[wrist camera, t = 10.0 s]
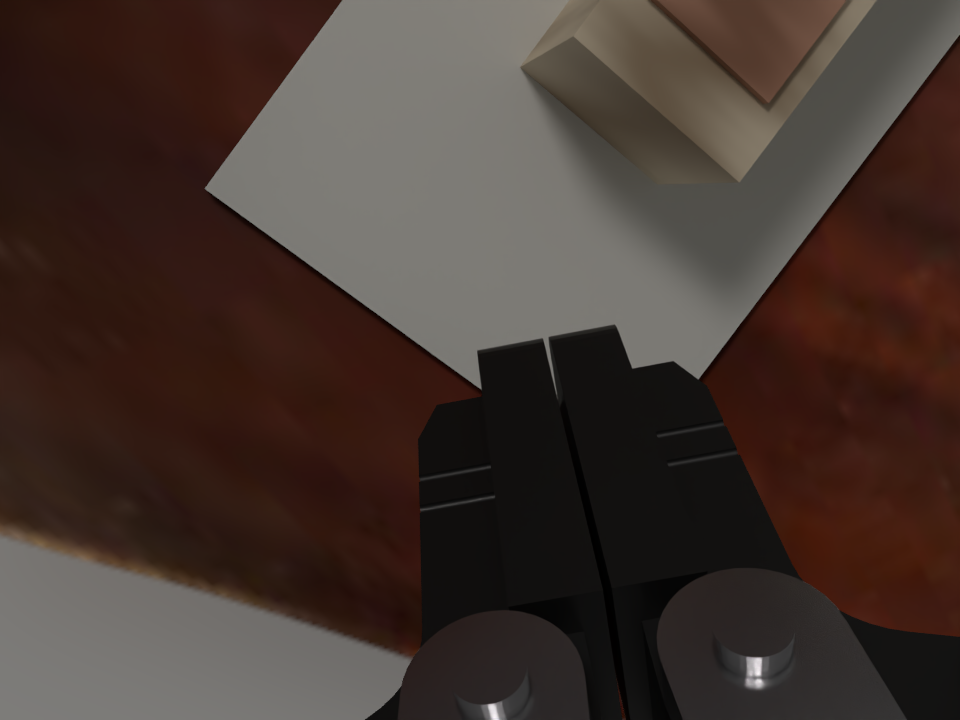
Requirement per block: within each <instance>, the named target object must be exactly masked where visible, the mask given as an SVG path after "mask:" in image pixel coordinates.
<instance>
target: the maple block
mask: <svg viewBox="0 0 960 720" xmlns="http://www.w3.org/2000/svg"><path fill="white" fill-rule="evenodd" d="M876 1H877V0H569V2H568V3H567V4H566V6H565V7H564V8H563V10H562V11H561V12H560V14H559V15H558V16H557V18H556V19H555V20H554V22H553V23H552V24H551V26H550V27H549V29H548V30H547V31H546V33H545V34H544V35H543V37H542V38H541V39H540V41H539V42H538V43H537V45H536V46H535V47H534V49H533V50H532V51H531V53H530V54H529V56H528V57H527V58H526V60H525V61H524V62H523V64H522V65H521V66H520V68H521V69H522V70H524V71H525V72H526V73H527V74H528V75H529V76H531V77H532V78H533V79H534V80H535V81H536V82H538V83H539V84H540V85H541V86H542V87H543V88H545V89H546V90H547V91H548V92H549V93H551V94H552V95H553V96H554V97H555V98H556V99H558V100H559V101H560V102H561V103H562V104H563V105H565V106H566V107H567V108H568V109H569V110H570V111H572V112H573V113H574V114H575V115H576V116H578V117H579V118H580V119H581V120H582V121H583V122H585V123H586V124H587V125H588V126H589V127H590V128H592V129H593V130H594V131H595V132H596V133H597V134H599V135H600V136H601V137H602V138H603V139H605V140H606V141H607V142H608V143H609V144H610V145H612V146H613V147H614V148H615V149H616V150H617V151H619V152H620V153H621V154H622V155H623V156H624V157H626V158H627V159H628V160H629V161H630V162H632V163H633V164H634V165H635V166H636V167H637V168H639V169H640V170H641V171H642V172H643V173H644V174H646V175H647V176H648V177H649V178H650V179H651V180H653V181H654V182H655V183H656V184H698V183H739V182H740V181H741V180H742V178H743V177H744V176H745V174H746V173H747V172H748V171H749V169H750V168H751V167H752V165H753V164H754V163H755V161H756V160H757V159H758V157H759V156H760V155H761V153H762V152H763V151H764V149H765V148H766V147H767V145H768V144H769V143H770V141H771V140H772V139H773V137H774V136H775V135H776V133H777V132H778V131H779V129H780V128H781V127H782V125H783V124H784V123H785V121H786V120H787V119H788V117H789V116H790V115H791V113H792V112H793V111H794V109H795V108H796V107H797V105H798V104H799V103H800V101H801V100H802V99H803V98H804V96H805V95H806V94H807V92H808V91H809V90H810V88H811V87H812V86H813V84H814V83H815V82H816V80H817V79H818V78H819V76H820V75H821V74H822V72H823V71H824V70H825V68H826V67H827V66H828V64H829V63H830V62H831V60H832V59H833V58H834V56H835V55H836V54H837V52H838V51H839V50H840V48H841V47H842V46H843V44H844V43H845V42H846V40H847V39H848V38H849V36H850V35H851V34H852V32H853V31H854V30H855V29H856V27H857V26H858V25H859V23H860V22H861V21H862V19H863V18H864V17H865V15H866V14H867V13H868V11H869V10H870V9H871V7H872V6H873V5H874V3H875V2H876Z"/></svg>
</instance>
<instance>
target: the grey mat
mask: <svg viewBox="0 0 960 720" xmlns="http://www.w3.org/2000/svg"><path fill="white" fill-rule="evenodd" d="M568 2H569V0H343V1H342V2H341V3H340V5H339V6H338V7H337V9H336V10H335V11H334V13H333V14H332V16H331V17H330V18H329V20H328V21H327V22H326V24H325V25H324V26H323V28H322V29H321V31H320V32H319V33H318V35H317V36H316V37H315V39H314V40H313V41H312V43H311V44H310V46H309V47H308V48H307V50H306V51H305V52H304V54H303V55H302V57H301V58H300V59H299V61H298V62H297V63H296V65H295V66H294V67H293V69H292V70H291V72H290V73H289V74H288V76H287V77H286V78H285V80H284V81H283V82H282V84H281V85H280V87H279V88H278V89H277V91H276V92H275V93H274V95H273V96H272V97H271V99H270V100H269V102H268V103H267V104H266V106H265V107H264V108H263V110H262V111H261V112H260V114H259V115H258V117H257V118H256V119H255V121H254V122H253V123H252V125H251V126H250V128H249V129H248V130H247V132H246V133H245V134H244V136H243V137H242V138H241V140H240V141H239V143H238V144H237V145H236V147H235V148H234V149H233V151H232V152H231V153H230V155H229V156H228V158H227V159H226V160H225V162H224V163H223V164H222V166H221V167H220V168H219V170H218V171H217V173H216V174H215V175H214V177H213V178H212V179H211V181H210V182H209V184H208V185H207V186H206V188H205V189H206V190H207V191H208V192H210V193H211V194H212V195H214V196H215V197H217V198H218V199H219V200H221V201H222V202H224V203H225V204H226V205H228V206H229V207H230V208H232V209H233V210H235V211H236V212H237V213H239V214H240V215H241V216H243V217H244V218H246V219H247V220H248V221H250V222H251V223H252V224H254V225H255V226H257V227H258V228H259V229H261V230H262V231H263V232H265V233H266V234H268V235H269V236H270V237H272V238H273V239H274V240H276V241H277V242H279V243H280V244H281V245H283V246H284V247H285V248H287V249H288V250H290V251H291V252H292V253H294V254H295V255H297V256H298V257H299V258H301V259H302V260H303V261H305V262H306V263H308V264H309V265H310V266H312V267H313V268H314V269H316V270H317V271H319V272H320V273H321V274H323V275H324V276H325V277H327V278H328V279H330V280H331V281H332V282H334V283H335V284H336V285H338V286H339V287H341V288H342V289H343V290H345V291H346V292H347V293H349V294H350V295H352V296H353V297H354V298H356V299H357V300H358V301H360V302H361V303H363V304H364V305H365V306H367V307H368V308H369V309H371V310H372V311H374V312H375V313H376V314H378V315H379V316H381V317H382V318H383V319H385V320H386V321H387V322H389V323H390V324H392V325H393V326H394V327H396V328H397V329H398V330H400V331H401V332H403V333H404V334H405V335H407V336H408V337H409V338H411V339H412V340H414V341H415V342H416V343H418V344H419V345H420V346H422V347H423V348H425V349H426V350H427V351H429V352H430V353H431V354H433V355H434V356H436V357H437V358H438V359H440V360H441V361H442V362H444V363H445V364H447V365H448V366H449V367H451V368H452V369H454V370H455V371H456V372H458V373H459V374H460V375H462V376H463V377H465V378H466V379H467V380H469V381H470V382H471V383H473V384H474V385H476V386H477V387H478V388H480V389H481V381H480V373H479V364H478V356H477V350H482V349H487V348H492V347H498V346H503V345H508V344H514V343H519V342H524V341H530V340H535V339H540V338H543V340H544V344H545V348H546V352H547V357H548V361H549V365H550V369H551V373H552V378H553V382H554V386H555V379H554V373H553V367H552V361H551V354H550V348H549V339H548V337H550V336H555V335H560V334H566V333H571V332H576V331H582V330H587V329H592V328H598V327H603V326H608V325H614V324H615V325H616V327H617V329H618V331H619V334H620V337H621V339H622V342H623V345H624V347H625V350H626V353H627V356H628V358H629V361H630V364H631V366H632V369H633V368H638V367H643V366H649V365H654V364H660V363H665V362H670V361H674V362H676V363H677V364H678V365H680V366H681V367H682V368H684V369H685V370H686V371H688V372H689V373H690V374H692V375H693V376H694V377H696V378H697V379H699V378H700V377H701V375H702V374H703V373H704V371H705V370H706V369H707V367H708V366H709V365H710V363H711V362H712V361H713V359H714V358H715V357H716V355H717V354H718V353H719V351H720V350H721V349H722V348H723V346H724V345H725V344H726V342H727V341H728V340H729V338H730V337H731V336H732V334H733V333H734V332H735V330H736V329H737V328H738V326H739V325H740V324H741V322H742V321H743V320H744V319H745V317H746V316H747V315H748V313H749V312H750V311H751V309H752V308H753V307H754V305H755V304H756V303H757V301H758V300H759V299H760V297H761V296H762V295H763V293H764V292H765V291H766V289H767V288H768V287H769V286H770V284H771V283H772V282H773V280H774V279H775V278H776V276H777V275H778V274H779V272H780V271H781V270H782V268H783V267H784V266H785V264H786V263H787V262H788V260H789V259H790V258H791V256H792V255H793V254H794V253H795V251H796V250H797V249H798V247H799V246H800V245H801V243H802V242H803V241H804V239H805V238H806V237H807V235H808V234H809V233H810V231H811V230H812V229H813V227H814V226H815V225H816V224H817V222H818V221H819V220H820V218H821V217H822V216H823V214H824V213H825V212H826V210H827V209H828V208H829V206H830V205H831V204H832V202H833V201H834V200H835V198H836V197H837V196H838V194H839V193H840V192H841V191H842V189H843V188H844V187H845V185H846V184H847V183H848V181H849V180H850V179H851V177H852V176H853V175H854V173H855V172H856V171H857V169H858V168H859V167H860V165H861V164H862V163H863V161H864V160H865V159H866V158H867V156H868V155H869V154H870V152H871V151H872V150H873V148H874V147H875V146H876V144H877V143H878V142H879V140H880V139H881V138H882V136H883V135H884V134H885V132H886V131H887V130H888V128H889V127H890V126H891V125H892V123H893V122H894V121H895V119H896V118H897V117H898V115H899V114H900V113H901V111H902V110H903V109H904V107H905V106H906V105H907V103H908V102H909V101H910V99H911V98H912V97H913V96H914V94H915V93H916V92H917V90H918V89H919V88H920V86H921V85H922V84H923V82H924V81H925V80H926V78H927V77H928V76H929V74H930V73H931V72H932V70H933V69H934V68H935V66H936V65H937V64H938V63H939V61H940V60H941V59H942V57H943V56H944V55H945V53H946V52H947V51H948V49H949V48H950V47H951V45H952V44H953V43H954V41H955V40H956V39H957V37H958V36H959V35H960V0H877V1H876V2H875V3H874V5H873V6H872V7H871V9H870V10H869V11H868V13H867V14H866V15H865V17H864V18H863V19H862V21H861V22H860V23H859V25H858V26H857V27H856V29H855V30H854V31H853V32H852V34H851V35H850V36H849V38H848V39H847V40H846V42H845V43H844V44H843V46H842V47H841V48H840V50H839V51H838V52H837V54H836V55H835V56H834V58H833V59H832V60H831V62H830V63H829V64H828V66H827V67H826V68H825V70H824V71H823V72H822V74H821V75H820V76H819V78H818V79H817V80H816V82H815V83H814V84H813V86H812V87H811V88H810V90H809V91H808V92H807V94H806V95H805V96H804V98H803V99H802V100H801V101H800V103H799V104H798V105H797V107H796V108H795V109H794V111H793V112H792V113H791V115H790V116H789V117H788V119H787V120H786V121H785V123H784V124H783V125H782V127H781V128H780V129H779V131H778V132H777V133H776V135H775V136H774V137H773V139H772V140H771V141H770V143H769V144H768V145H767V147H766V148H765V149H764V151H763V152H762V153H761V155H760V156H759V157H758V159H757V160H756V161H755V163H754V164H753V165H752V167H751V168H750V169H749V171H748V172H747V173H746V174H745V176H744V177H743V178H742V180H741V181H740V182H739V183H698V184H656V183H655V182H654V181H653V180H651V179H650V178H649V177H648V176H647V175H646V174H644V173H643V172H642V171H641V170H640V169H639V168H637V167H636V166H635V165H634V164H633V163H632V162H630V161H629V160H628V159H627V158H626V157H624V156H623V155H622V154H621V153H620V152H619V151H617V150H616V149H615V148H614V147H613V146H612V145H610V144H609V143H608V142H607V141H606V140H605V139H603V138H602V137H601V136H600V135H599V134H597V133H596V132H595V131H594V130H593V129H592V128H590V127H589V126H588V125H587V124H586V123H585V122H583V121H582V120H581V119H580V118H579V117H578V116H576V115H575V114H574V113H573V112H572V111H570V110H569V109H568V108H567V107H566V106H565V105H563V104H562V103H561V102H560V101H559V100H558V99H556V98H555V97H554V96H553V95H552V94H551V93H549V92H548V91H547V90H546V89H545V88H543V87H542V86H541V85H540V84H539V83H538V82H536V81H535V80H534V79H533V78H532V77H531V76H529V75H528V74H527V73H526V72H525V71H524V70H522V69H521V68H520V66H521V65H522V64H523V62H524V61H525V60H526V58H527V57H528V56H529V54H530V53H531V51H532V50H533V49H534V47H535V46H536V45H537V43H538V42H539V41H540V39H541V38H542V37H543V35H544V34H545V33H546V31H547V30H548V29H549V27H550V26H551V24H552V23H553V22H554V20H555V19H556V18H557V16H558V15H559V14H560V12H561V11H562V10H563V8H564V7H565V6H566V4H567V3H568ZM481 390H482V389H481ZM555 390H556V386H555ZM556 394H557V392H556ZM557 399H558V398H557Z"/></svg>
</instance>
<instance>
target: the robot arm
mask: <svg viewBox="0 0 960 720" xmlns="http://www.w3.org/2000/svg"><path fill="white" fill-rule="evenodd" d="M548 339H549V348H550V354H551V361H552V367H553V373H554V379H555V386H556V390H555V386H554V382H553V378H552V373H551V369H550V365H549V361H548V357H547V352H546V348H545V344H544V340H543V338H540V339H535V340H530V341H524V342H519V343H514V344H508V345H503V346H498V347H492V348H487V349H482V350H477V356H478V364H479V373H480V381H481V389H482V397H477V398H472V399H467V400H461V401H456V402H450V403H445V404H440V405H437V406H436V408H435V409H434V411H433V413H432V415H431V417H430V419H429V420H428V422H427V424H426V426H425V428H424V430H423V432H422V433H421V435H420V437H419V439H418V449H419V477H420V482H419V494H420V509H421V513H420V540H421V586H422V642H421V646H420V649H419V651H418V652H417V653H416V654H415V656H414V657H413V659H412V661H411V663H410V664H409V666H408V668H407V671H406V673H405V676H404V678H403V681H402V686H401V687H400V689H399V690H398V691H397V692H396V693H395V695H394V696H393V697H392V698H391V699H390V700H389V701H388V702H387V703H386V704H385V705H384V706H382V707H381V708H380V709H379V710H378V711H376V712H375V713H373V714H372V715H371V716H370V717H368V718H367V719H365V720H622V715H621V708H620V701H619V695H618V688H617V682H618V687H619V691H620V695H621V700H622V704H623V708H624V713H625V717H626V720H960V637H955V636H945V635H935V634H925V633H915V632H906V631H900V630H894V629H888V628H884V627H880V626H876V625H873V624H869V623H867V622H864V621H861V620H859V619H856V618H854V617H851V616H849V615H847V614H845V613H844V612H842V611H840V610H838V609H837V607H836V606H835V605H834V604H833V603H832V602H831V601H830V600H829V599H828V598H827V597H826V596H825V595H824V594H822V593H821V592H819V591H818V590H817V589H815V588H814V587H812V586H811V585H809V584H807V583H805V582H804V581H803V580H802V579H801V578H800V577H799V575H798V573H797V572H796V570H795V568H794V567H793V565H792V563H791V561H790V559H789V557H788V555H787V553H786V551H785V548H784V546H783V544H782V542H781V540H780V538H779V536H778V534H777V532H776V530H775V528H774V525H773V523H772V521H771V519H770V517H769V515H768V513H767V511H766V509H765V507H764V505H763V502H762V500H761V498H760V496H759V494H758V492H757V490H756V488H755V486H754V484H753V481H752V479H751V477H750V475H749V473H748V471H747V469H746V467H745V465H744V463H743V461H742V458H741V456H740V455H738V454H737V449H736V446H735V444H734V442H733V440H732V438H731V435H730V433H729V431H728V429H727V427H726V426H725V427H724V424H723V419H722V417H721V414H720V412H719V410H718V408H717V406H716V404H715V402H714V400H713V398H712V396H711V394H710V391H709V389H708V387H707V386H706V385H705V384H704V383H702V382H701V381H700V380H698V379H697V378H696V377H694V376H693V375H692V374H690V373H689V372H688V371H686V370H685V369H684V368H682V367H681V366H680V365H678V364H677V363H676V362H674V361H670V362H665V363H660V364H654V365H649V366H643V367H638V368H633V369H632V366H631V364H630V361H629V358H628V356H627V353H626V350H625V347H624V345H623V342H622V339H621V337H620V334H619V331H618V329H617V327H616V325H615V324H614V325H608V326H603V327H598V328H592V329H587V330H582V331H576V332H571V333H566V334H560V335H555V336H550V337H548ZM556 392H557V394H556ZM557 398H558V399H557ZM616 678H617V681H616Z"/></svg>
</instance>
